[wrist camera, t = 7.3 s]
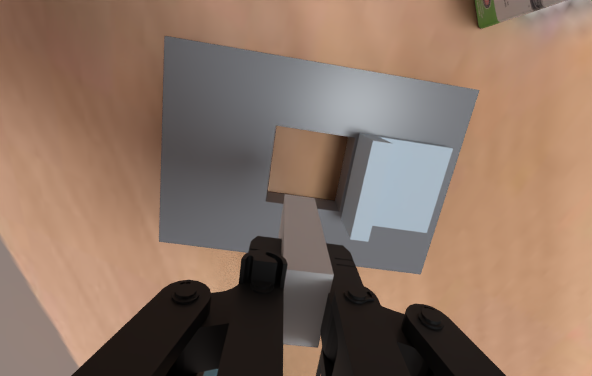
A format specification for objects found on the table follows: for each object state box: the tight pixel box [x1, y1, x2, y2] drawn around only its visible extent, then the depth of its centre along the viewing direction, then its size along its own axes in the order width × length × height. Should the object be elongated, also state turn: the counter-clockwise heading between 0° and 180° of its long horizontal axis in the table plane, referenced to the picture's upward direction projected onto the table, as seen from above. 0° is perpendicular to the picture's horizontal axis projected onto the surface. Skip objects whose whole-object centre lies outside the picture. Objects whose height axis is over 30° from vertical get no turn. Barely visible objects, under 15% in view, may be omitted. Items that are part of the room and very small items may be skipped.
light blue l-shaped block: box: [341, 133, 453, 242], centre depth 26 cm, size 8×8×4 cm
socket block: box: [159, 36, 479, 274], centre depth 29 cm, size 18×26×3 cm
